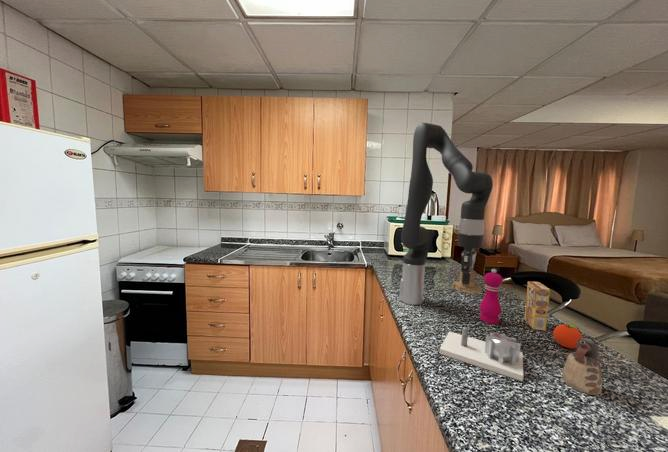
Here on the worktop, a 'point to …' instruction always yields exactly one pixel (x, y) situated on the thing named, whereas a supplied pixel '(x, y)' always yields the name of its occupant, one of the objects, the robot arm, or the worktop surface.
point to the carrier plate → (478, 354)
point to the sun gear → (502, 348)
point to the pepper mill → (491, 298)
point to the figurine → (584, 368)
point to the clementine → (567, 335)
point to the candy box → (537, 305)
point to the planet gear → (467, 288)
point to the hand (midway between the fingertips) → (466, 281)
